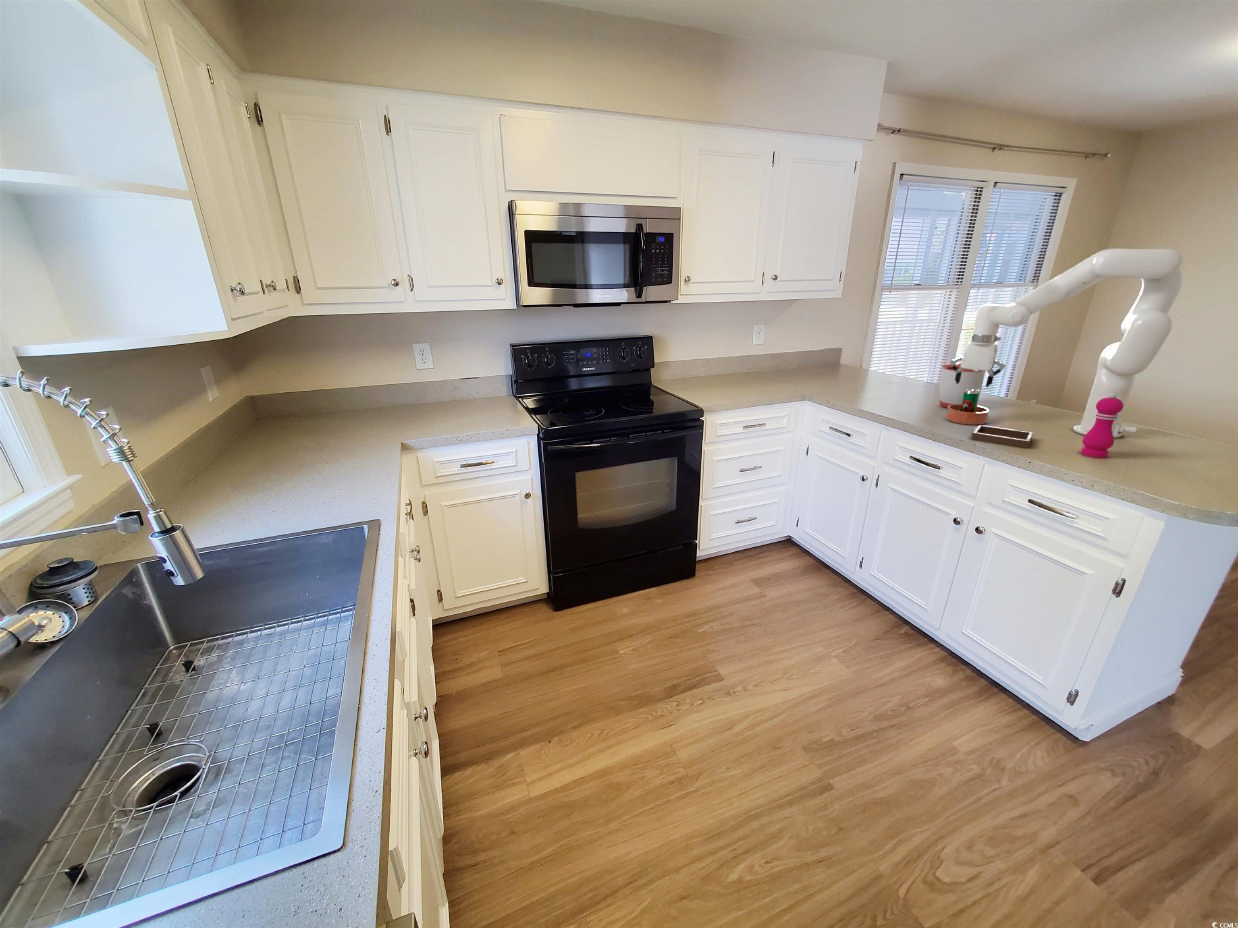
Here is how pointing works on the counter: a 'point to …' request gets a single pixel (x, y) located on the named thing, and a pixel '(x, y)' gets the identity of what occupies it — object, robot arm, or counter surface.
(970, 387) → the citrus juicer
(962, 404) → the soda can
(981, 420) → the bowl
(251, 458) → the counter surface
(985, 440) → the tray
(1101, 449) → the pepper mill
